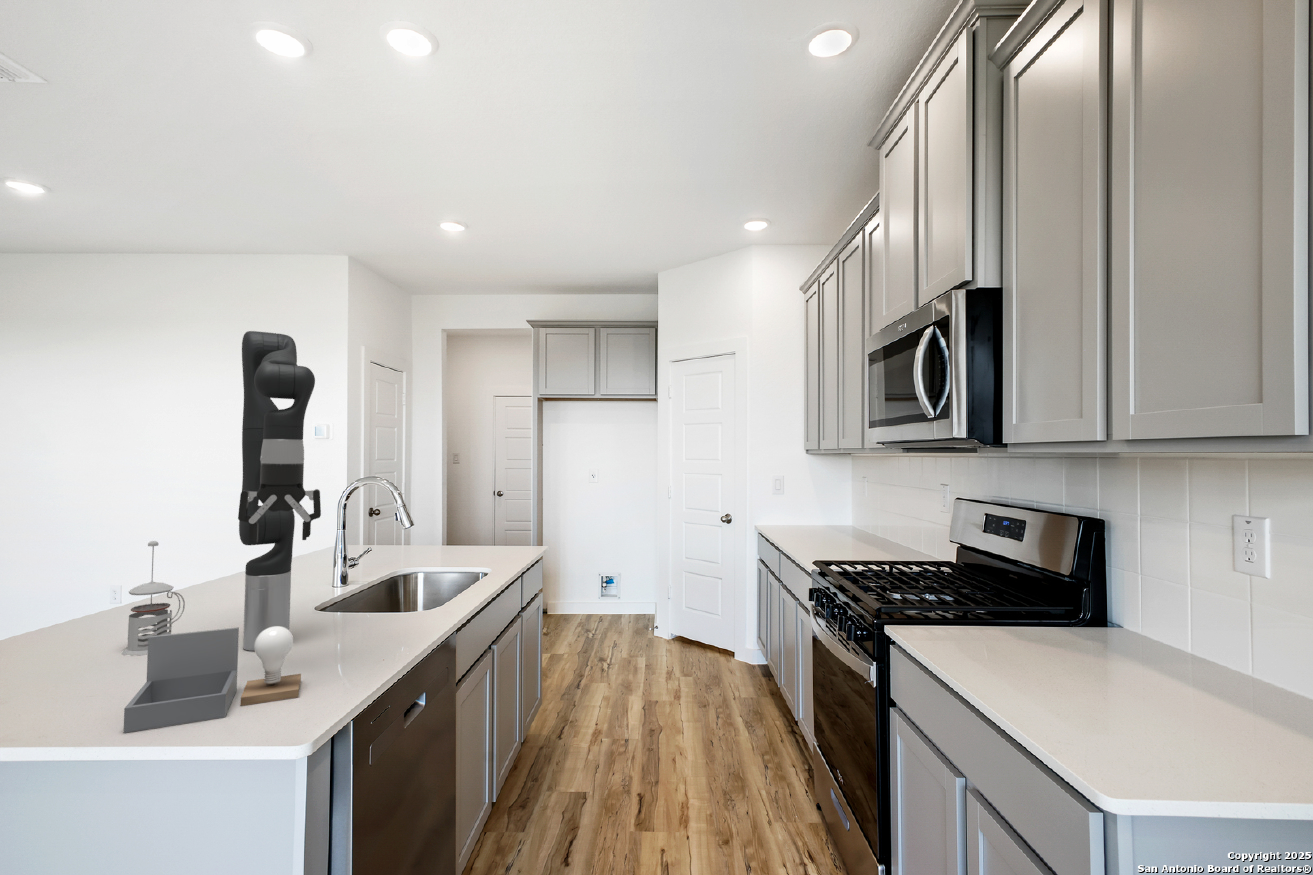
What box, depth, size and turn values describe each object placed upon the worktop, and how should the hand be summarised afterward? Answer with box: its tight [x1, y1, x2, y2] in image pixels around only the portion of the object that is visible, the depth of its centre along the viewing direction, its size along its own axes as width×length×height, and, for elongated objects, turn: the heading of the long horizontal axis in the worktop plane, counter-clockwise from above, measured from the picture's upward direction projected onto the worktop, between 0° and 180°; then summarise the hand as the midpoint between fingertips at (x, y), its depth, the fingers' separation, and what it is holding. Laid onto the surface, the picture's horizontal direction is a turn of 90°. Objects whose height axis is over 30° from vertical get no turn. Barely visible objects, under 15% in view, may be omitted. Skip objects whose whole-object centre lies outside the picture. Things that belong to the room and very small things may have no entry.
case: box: [122, 627, 240, 734], centre depth 107 cm, size 14×14×12 cm
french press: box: [121, 540, 186, 656], centre depth 141 cm, size 10×12×25 cm
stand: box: [239, 673, 302, 707], centre depth 115 cm, size 9×9×2 cm
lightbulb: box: [254, 626, 294, 685], centre depth 116 cm, size 6×6×11 cm
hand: (280, 540), depth 123 cm, fingers open, 8 cm apart
